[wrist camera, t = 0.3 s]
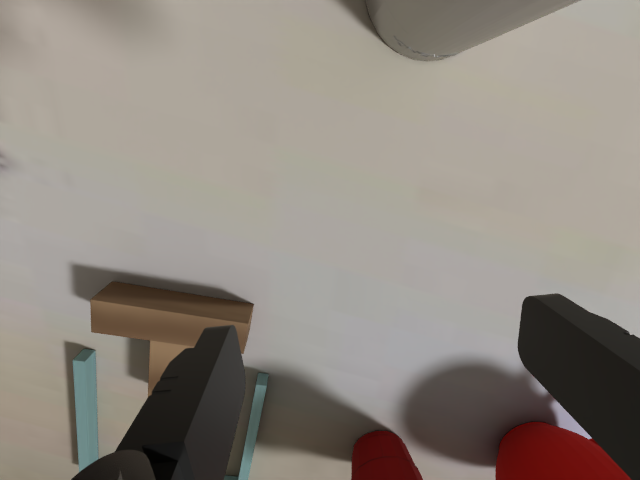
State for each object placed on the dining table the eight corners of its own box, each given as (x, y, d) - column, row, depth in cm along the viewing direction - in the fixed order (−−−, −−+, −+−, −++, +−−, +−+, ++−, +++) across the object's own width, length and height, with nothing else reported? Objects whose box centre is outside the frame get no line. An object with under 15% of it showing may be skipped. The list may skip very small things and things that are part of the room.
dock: (83, 348, 30) (72, 360, 28) (268, 374, 31) (266, 385, 30) (88, 468, 35) (79, 482, 33) (246, 483, 37) (244, 497, 35)
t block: (112, 281, 27) (90, 299, 25) (253, 303, 29) (248, 323, 26) (113, 381, 31) (93, 407, 28) (238, 397, 32) (232, 423, 30)
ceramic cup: (639, 413, 36) (758, 518, 26) (517, 495, 40) (583, 612, 30) (572, 355, 32) (681, 451, 23) (447, 451, 36) (496, 566, 27)
